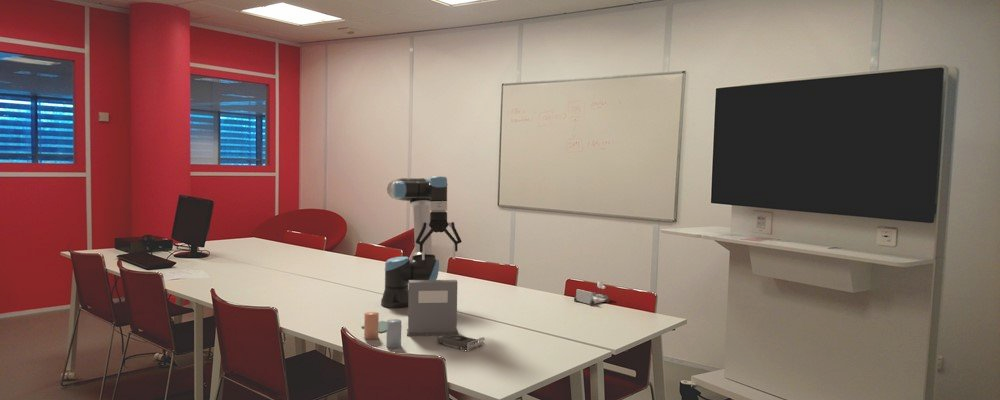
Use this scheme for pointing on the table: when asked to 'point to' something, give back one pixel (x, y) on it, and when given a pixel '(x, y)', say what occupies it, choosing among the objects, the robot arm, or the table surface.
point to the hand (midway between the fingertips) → (438, 259)
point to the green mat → (381, 327)
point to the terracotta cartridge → (371, 325)
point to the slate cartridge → (393, 333)
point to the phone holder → (591, 296)
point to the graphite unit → (432, 307)
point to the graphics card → (461, 341)
